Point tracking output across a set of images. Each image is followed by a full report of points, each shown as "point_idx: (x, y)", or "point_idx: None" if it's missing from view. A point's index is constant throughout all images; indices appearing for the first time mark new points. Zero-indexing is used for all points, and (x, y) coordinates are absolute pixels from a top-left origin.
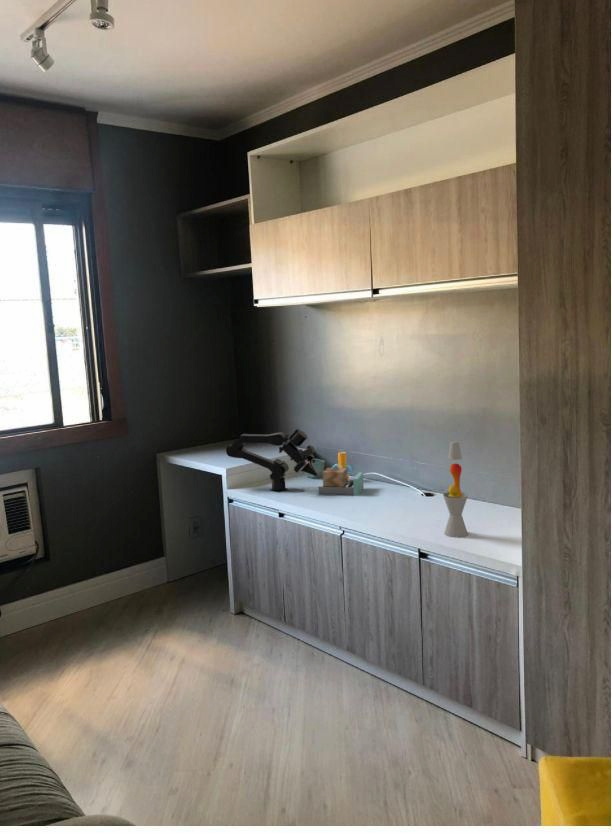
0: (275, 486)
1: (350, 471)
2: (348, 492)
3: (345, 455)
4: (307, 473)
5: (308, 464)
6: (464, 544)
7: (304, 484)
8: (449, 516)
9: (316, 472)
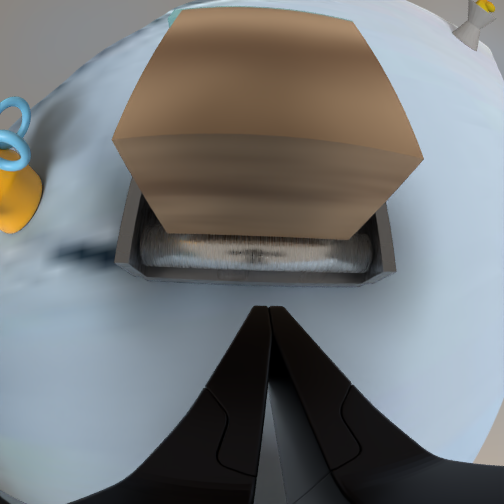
0: None
1: (25, 115)
2: None
3: None
4: None
5: (484, 488)
6: (483, 51)
7: (69, 446)
8: (478, 31)
9: (247, 322)
